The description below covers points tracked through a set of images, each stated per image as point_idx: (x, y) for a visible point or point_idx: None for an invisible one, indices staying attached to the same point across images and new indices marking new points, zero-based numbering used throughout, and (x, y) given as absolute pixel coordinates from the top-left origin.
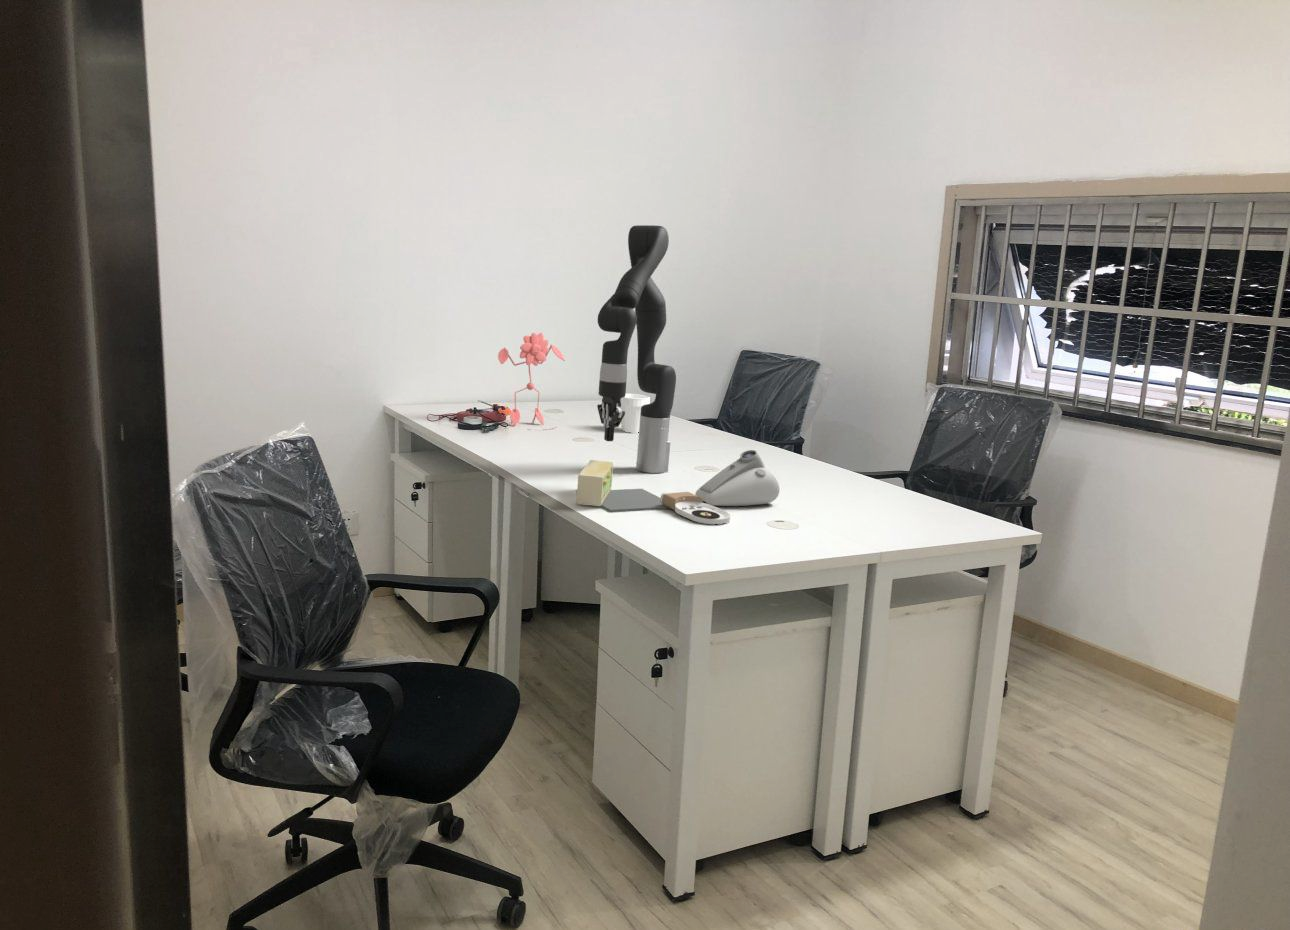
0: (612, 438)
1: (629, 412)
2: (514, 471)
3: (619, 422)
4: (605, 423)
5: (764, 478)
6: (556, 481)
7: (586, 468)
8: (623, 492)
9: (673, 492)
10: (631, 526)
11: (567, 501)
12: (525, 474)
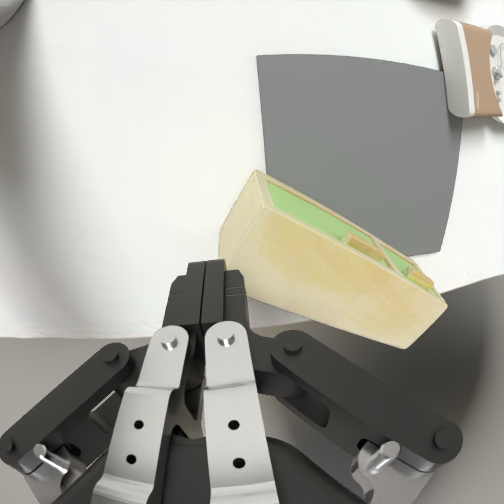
0: (242, 279)
1: None
2: (67, 331)
3: (352, 371)
4: (203, 394)
5: None
6: (136, 283)
7: (352, 326)
8: (306, 145)
9: (469, 77)
10: (499, 243)
11: None
12: (85, 322)
